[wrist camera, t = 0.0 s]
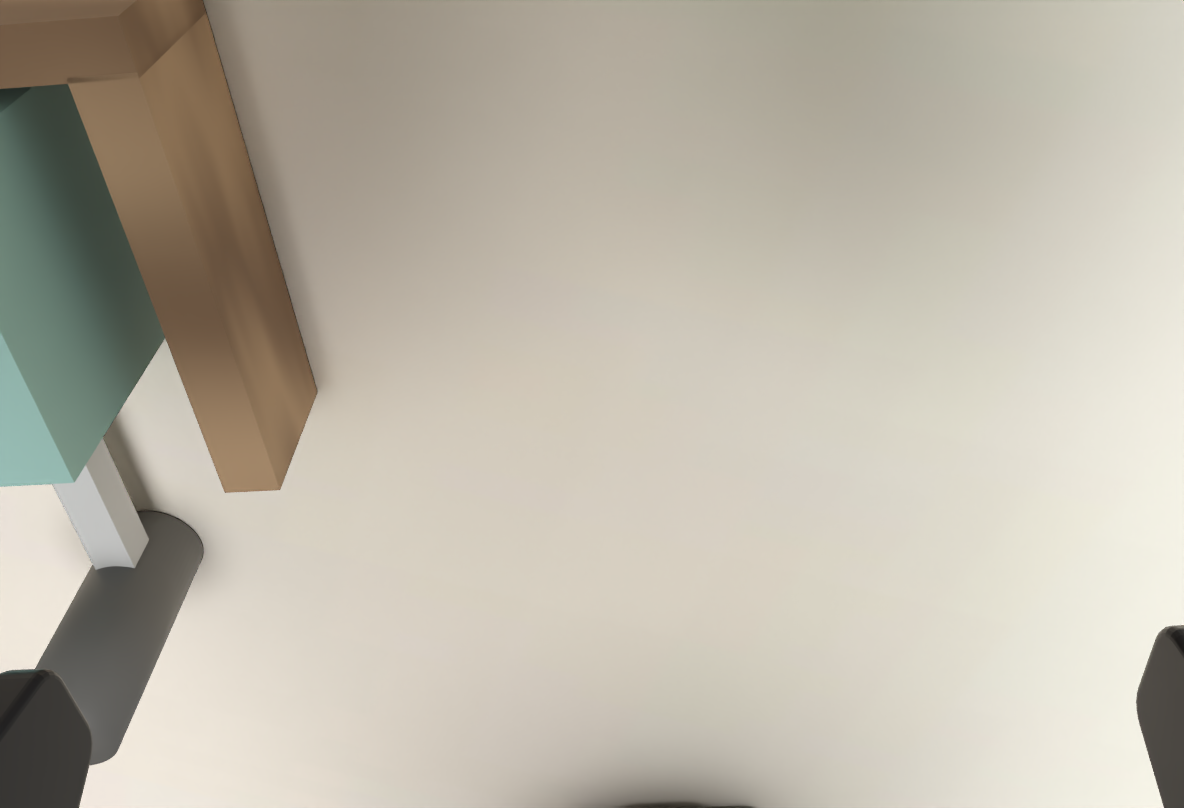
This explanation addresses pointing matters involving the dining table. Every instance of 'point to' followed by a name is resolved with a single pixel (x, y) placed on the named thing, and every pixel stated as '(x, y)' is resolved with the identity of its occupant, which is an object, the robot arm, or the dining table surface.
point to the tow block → (82, 402)
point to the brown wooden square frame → (181, 210)
